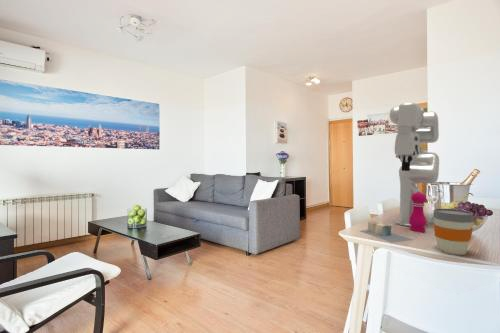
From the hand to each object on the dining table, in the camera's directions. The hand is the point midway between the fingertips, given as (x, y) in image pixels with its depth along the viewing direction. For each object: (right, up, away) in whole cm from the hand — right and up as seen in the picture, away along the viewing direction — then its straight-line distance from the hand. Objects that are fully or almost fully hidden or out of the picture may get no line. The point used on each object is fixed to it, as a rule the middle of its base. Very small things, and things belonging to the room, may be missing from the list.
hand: (405, 170), depth 131 cm
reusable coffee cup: (+5, -30, -23) cm, 38 cm away
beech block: (-11, -27, -5) cm, 29 cm away
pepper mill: (+9, -29, +6) cm, 31 cm away
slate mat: (-11, -29, -4) cm, 31 cm away
